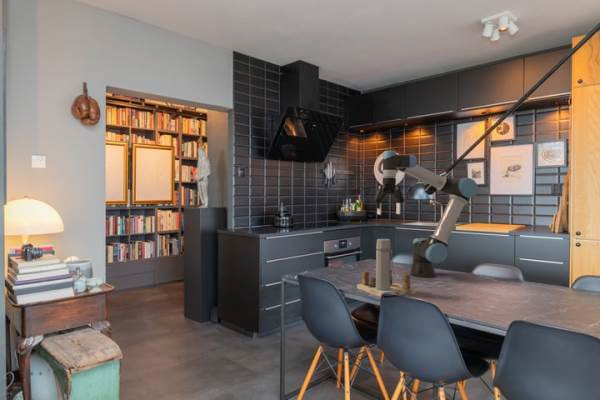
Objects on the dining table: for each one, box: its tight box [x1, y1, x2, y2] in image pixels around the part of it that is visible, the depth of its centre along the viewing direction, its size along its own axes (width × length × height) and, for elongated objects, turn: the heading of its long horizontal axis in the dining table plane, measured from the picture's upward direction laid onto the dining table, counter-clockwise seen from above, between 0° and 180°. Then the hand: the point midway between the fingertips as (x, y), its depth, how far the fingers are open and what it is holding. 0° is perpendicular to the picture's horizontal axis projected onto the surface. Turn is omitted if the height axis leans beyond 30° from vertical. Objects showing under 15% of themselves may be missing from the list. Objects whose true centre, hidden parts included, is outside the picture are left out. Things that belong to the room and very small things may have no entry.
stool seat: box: [356, 269, 416, 298], centre depth 203 cm, size 21×21×9 cm
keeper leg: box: [369, 276, 393, 287], centre depth 204 cm, size 3×13×4 cm, turn 110°
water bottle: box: [375, 238, 395, 290], centre depth 196 cm, size 9×8×25 cm
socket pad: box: [371, 287, 399, 293], centre depth 196 cm, size 10×10×1 cm
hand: (388, 214), depth 226 cm, fingers open, 13 cm apart
